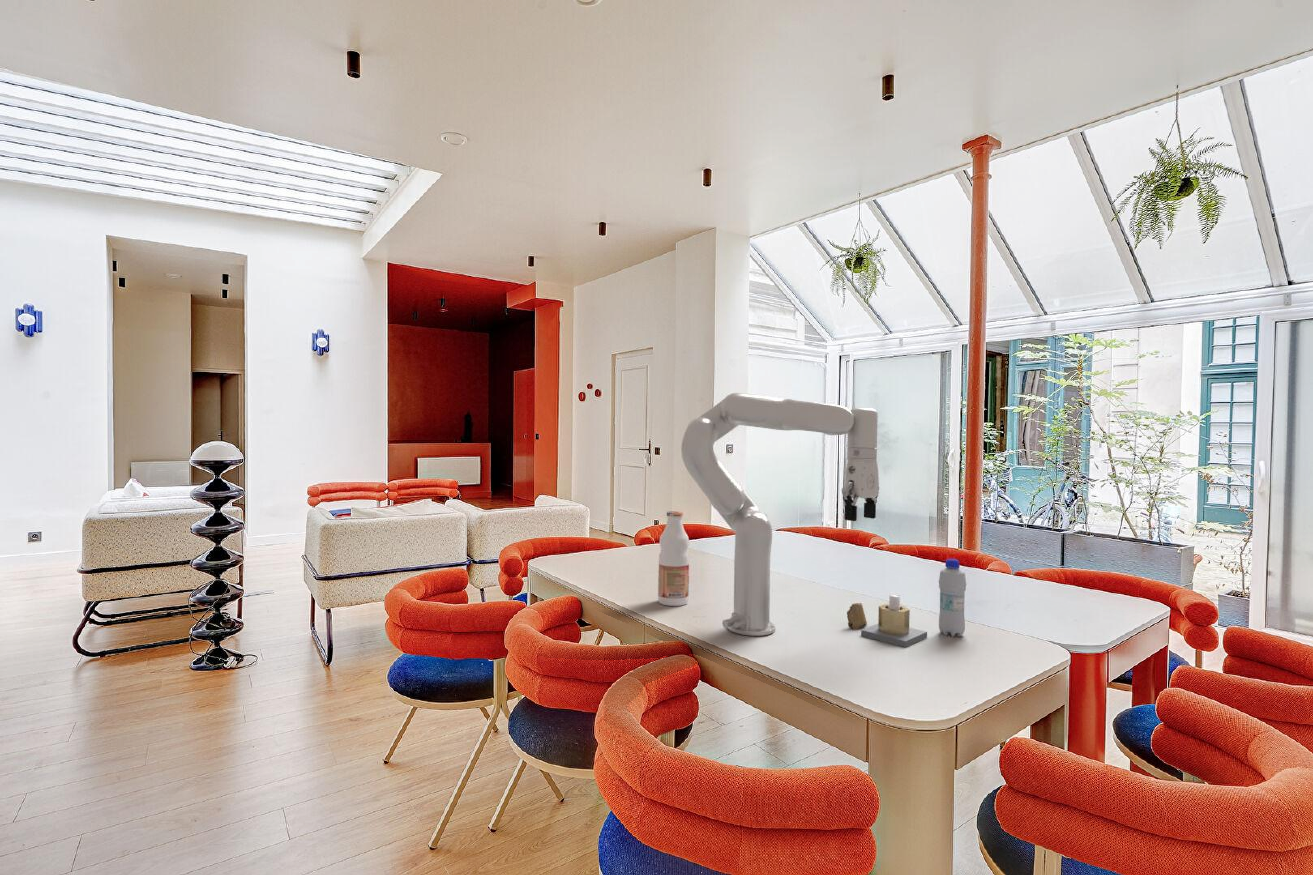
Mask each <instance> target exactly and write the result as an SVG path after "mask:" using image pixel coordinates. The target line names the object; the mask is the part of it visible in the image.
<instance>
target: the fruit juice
mask: <svg viewBox="0 0 1313 875" xmlns="http://www.w3.org/2000/svg"><path fill="white" fill-rule="evenodd" d="M683 513H684V512H682V511H676V510H674V511H670V510H669V511H667V512H666V517H667V520H666V524H665V528H664V530H663V532H662V533H661V534H660V537H659V547H660V553H659V556H658V582H657V585H658V586H657V588H658V589H657V590H658V592H657V593H658V594H657V601H658V603H659V604H661V605H663V606H669V607H672V606H673V607H680V606H685V605H687V604H688V603H689V596H690V595H689V592H690V590H689V584H690V555H689V553H688V548H689V544H690V540H689V539H690V538H689V536H688V534H687V532H686V530H685V528H684V524H683V520H682V519H683Z"/></svg>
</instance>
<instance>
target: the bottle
mask: <svg viewBox="0 0 1313 875" xmlns="http://www.w3.org/2000/svg"><path fill="white" fill-rule="evenodd" d="M966 578H967V577H966V573H965V571H963V570H962V569H960V561H959V560H958V559H955V558H948V559H946V560H945V568H943V569H940V573H939V578H938V579H939V580H938V588H939V595H940V596H939V616H938V629H939V632H940V633H941V634H944V635H945V636H948V635H949V633H950V635H951V637H952V638H953V637H955V636H957V637H961V636H963V635H964V633H965V629H966V621H965V620H966V619H965V618H966V616H965V595H966V594H965V593H966V590H967V581H966Z"/></svg>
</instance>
